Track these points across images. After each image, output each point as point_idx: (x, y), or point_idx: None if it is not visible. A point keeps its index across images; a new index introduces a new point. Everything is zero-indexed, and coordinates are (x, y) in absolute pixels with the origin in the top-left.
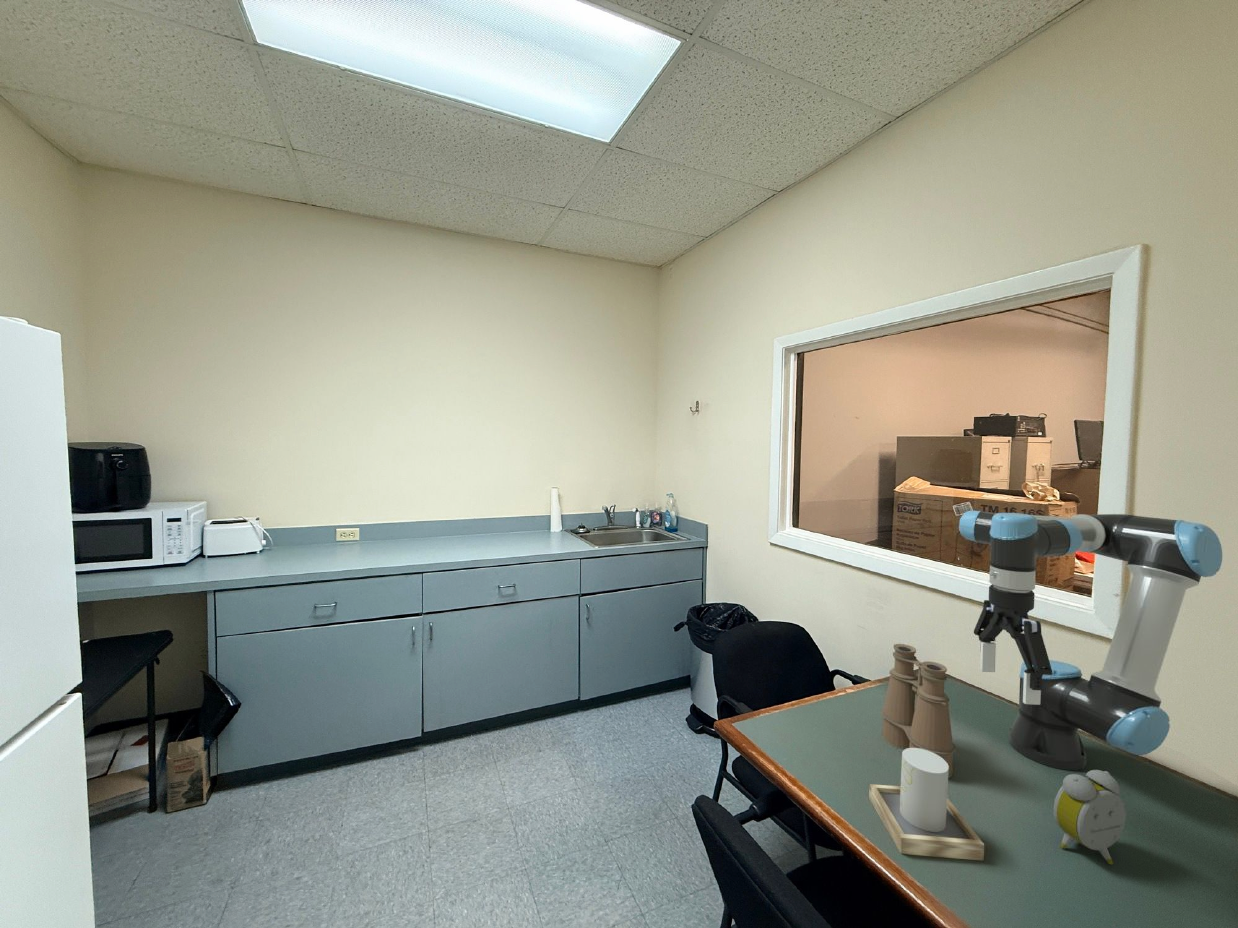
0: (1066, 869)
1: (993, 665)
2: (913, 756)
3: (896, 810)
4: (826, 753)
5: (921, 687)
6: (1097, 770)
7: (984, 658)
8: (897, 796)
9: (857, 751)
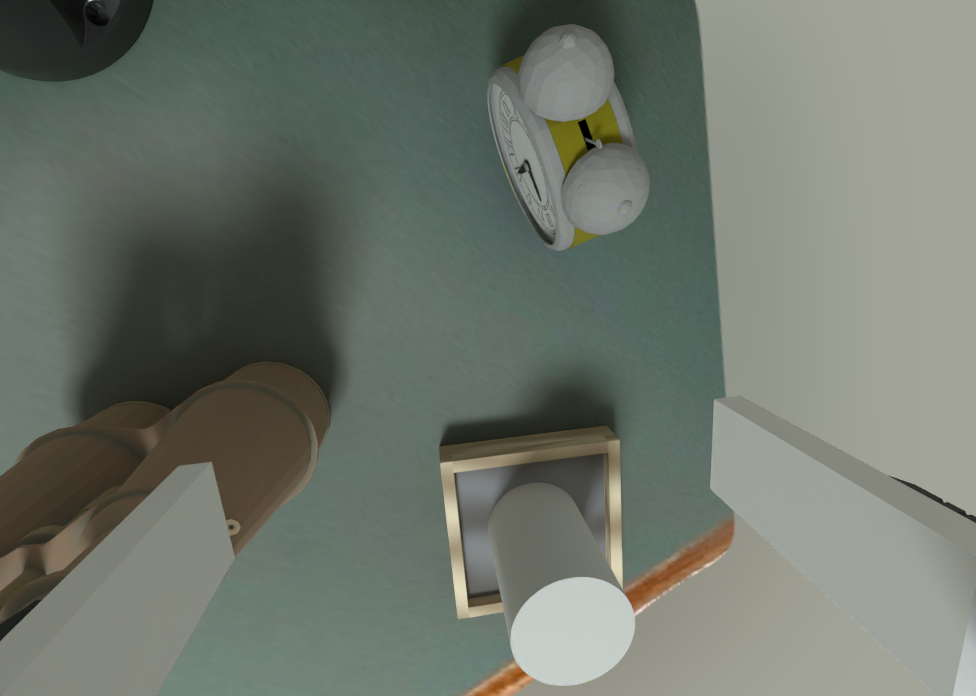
0: (607, 264)
1: (185, 510)
2: (560, 657)
3: None
4: (296, 658)
5: None
6: (561, 73)
7: (172, 644)
8: (474, 558)
9: (260, 586)
